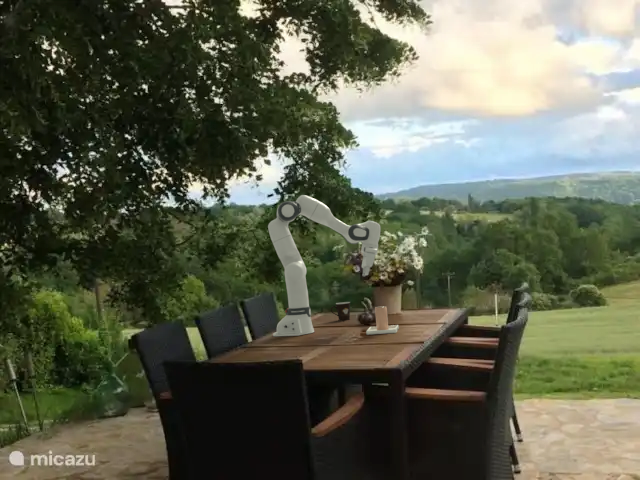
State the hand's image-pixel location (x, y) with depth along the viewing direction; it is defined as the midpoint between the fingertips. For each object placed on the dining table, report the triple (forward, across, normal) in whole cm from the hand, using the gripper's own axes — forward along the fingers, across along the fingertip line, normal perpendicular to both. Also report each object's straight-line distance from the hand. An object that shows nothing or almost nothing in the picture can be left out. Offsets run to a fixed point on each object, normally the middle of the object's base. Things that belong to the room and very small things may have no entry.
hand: (365, 275), depth 425 cm
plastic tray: (+28, +21, +11) cm, 37 cm away
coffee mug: (+25, -43, -4) cm, 50 cm away
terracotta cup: (+28, +21, +11) cm, 37 cm away
